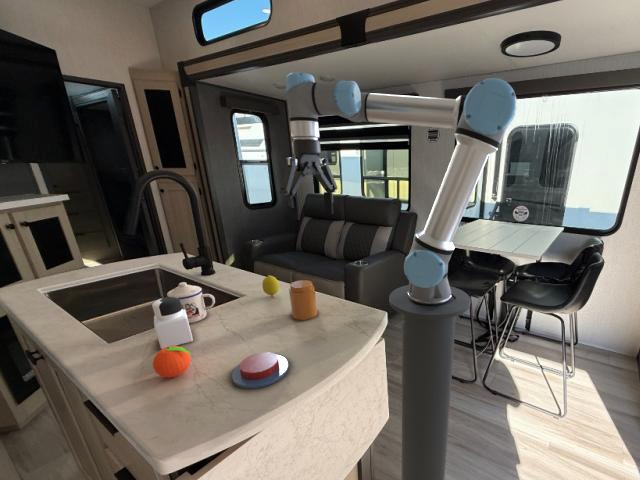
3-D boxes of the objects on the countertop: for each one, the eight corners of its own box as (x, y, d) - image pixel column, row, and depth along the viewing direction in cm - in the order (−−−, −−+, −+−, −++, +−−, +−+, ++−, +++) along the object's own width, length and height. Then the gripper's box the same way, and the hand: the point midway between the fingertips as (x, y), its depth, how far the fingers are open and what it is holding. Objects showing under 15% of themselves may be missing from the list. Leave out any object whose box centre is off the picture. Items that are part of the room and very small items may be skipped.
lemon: (260, 297, 114) (257, 277, 112) (271, 292, 119) (268, 272, 116) (273, 299, 113) (270, 278, 110) (283, 294, 118) (280, 273, 115)
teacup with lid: (169, 326, 94) (159, 290, 90) (178, 314, 102) (169, 280, 98) (215, 320, 98) (207, 285, 94) (220, 308, 106) (213, 275, 102)
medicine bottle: (190, 331, 91) (180, 292, 87) (193, 341, 86) (182, 300, 82) (160, 338, 87) (148, 298, 83) (161, 349, 82) (148, 307, 78)
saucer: (299, 367, 75) (299, 364, 75) (253, 396, 66) (252, 392, 65) (267, 351, 81) (267, 349, 81) (221, 376, 72) (221, 373, 72)
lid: (233, 371, 72) (231, 364, 71) (265, 355, 79) (264, 348, 78) (254, 384, 68) (253, 377, 67) (286, 365, 74) (285, 358, 74)
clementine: (203, 364, 76) (197, 338, 74) (190, 382, 70) (182, 354, 67) (167, 366, 75) (159, 340, 73) (150, 385, 69) (141, 357, 66)
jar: (322, 313, 103) (319, 282, 99) (303, 322, 97) (299, 289, 93) (306, 307, 107) (302, 278, 103) (287, 316, 101) (283, 284, 97)
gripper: (327, 142, 100) (332, 210, 108) (258, 137, 80) (270, 221, 88) (345, 141, 97) (350, 212, 104) (277, 135, 77) (288, 223, 84)
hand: (313, 216), depth 96 cm, fingers open, 13 cm apart
